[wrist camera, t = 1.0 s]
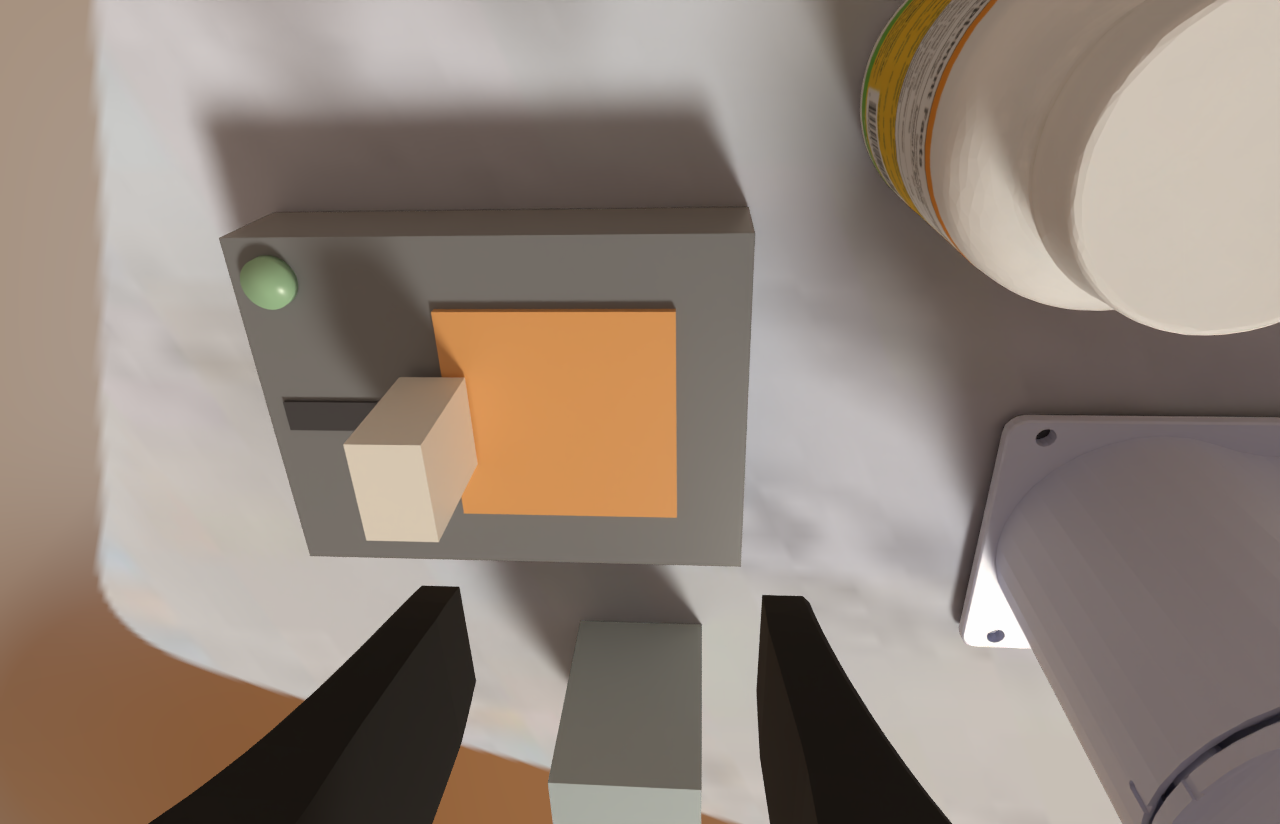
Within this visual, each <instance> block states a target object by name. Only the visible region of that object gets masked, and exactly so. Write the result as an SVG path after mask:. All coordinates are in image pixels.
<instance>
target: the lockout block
mask: <svg viewBox="0 0 1280 824" xmlns="http://www.w3.org/2000/svg"><path fill="white" fill-rule="evenodd" d="M701 764H702V624H671V623H638V622H606V621H580V625H579V630H578V635H577V640H576V645H575V650H574V655H573V660H572V665H571V670H570V675H569V680H568V685H567V690H566V695H565V700H564V705H563V710H562V715H561V720H560V725H559V730H558V735H557V740H556V745H555V750H554V755H553V760H552V765H551V770H550V775H549V780H548V787H549V795H550V803H551V811H552V818H553V824H701Z"/></svg>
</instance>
